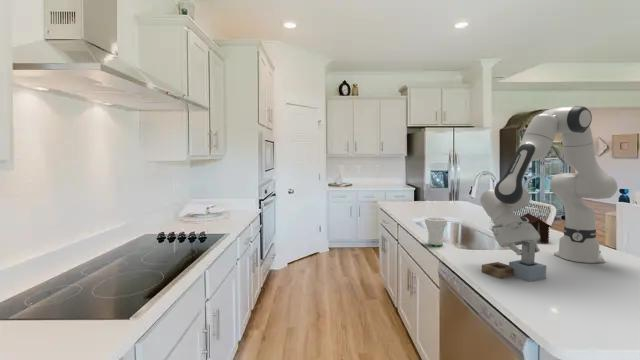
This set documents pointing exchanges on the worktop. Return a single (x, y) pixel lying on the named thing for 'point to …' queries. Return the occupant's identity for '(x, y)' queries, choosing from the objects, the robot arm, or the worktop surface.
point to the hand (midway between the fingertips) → (529, 253)
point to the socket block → (498, 270)
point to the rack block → (528, 271)
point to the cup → (435, 230)
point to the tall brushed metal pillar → (528, 252)
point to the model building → (539, 227)
